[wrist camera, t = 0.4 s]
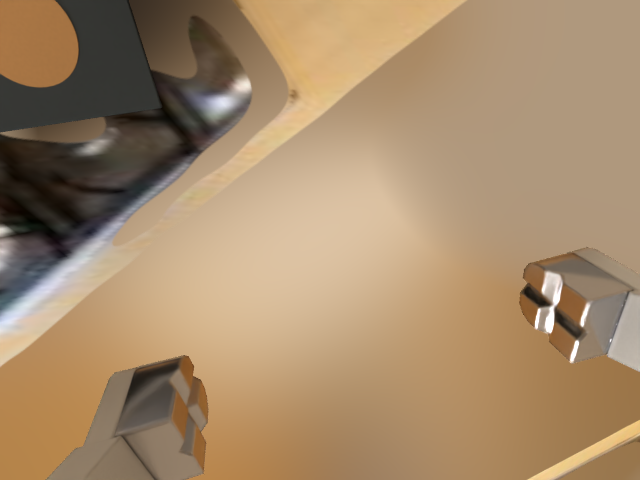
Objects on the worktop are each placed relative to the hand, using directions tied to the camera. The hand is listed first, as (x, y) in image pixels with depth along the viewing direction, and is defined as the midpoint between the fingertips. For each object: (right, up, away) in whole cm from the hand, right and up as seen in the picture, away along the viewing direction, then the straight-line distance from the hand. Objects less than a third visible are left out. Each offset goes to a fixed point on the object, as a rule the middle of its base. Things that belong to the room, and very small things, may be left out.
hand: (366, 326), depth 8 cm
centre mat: (-29, +22, +26) cm, 44 cm away
